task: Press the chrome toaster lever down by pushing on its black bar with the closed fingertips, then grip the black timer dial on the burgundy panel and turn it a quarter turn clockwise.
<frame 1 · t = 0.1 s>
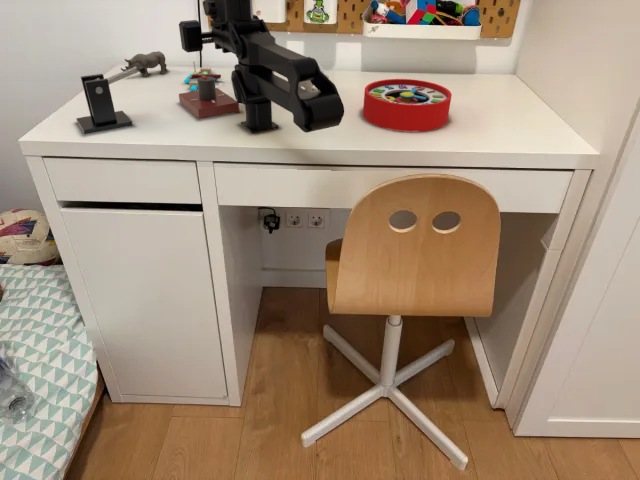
hand: (207, 26, 117), 17 cm above the table, tool horizontal, fingers open, 9 cm apart
toaster lever: (116, 78, 105), point 10 cm above the table, hinge at 15.0°
lever bracket: (105, 125, 109), on the table
soda can: (259, 83, 137), on the table
timer dial: (206, 87, 116), point 5 cm above the table, hinge at 0.0°
rhino figurine: (146, 75, 141), on the table
dog figurine: (307, 95, 129), on the table
dial panel: (209, 108, 119), on the table
toy clock: (404, 116, 117), on the table
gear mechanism: (204, 82, 137), on the table
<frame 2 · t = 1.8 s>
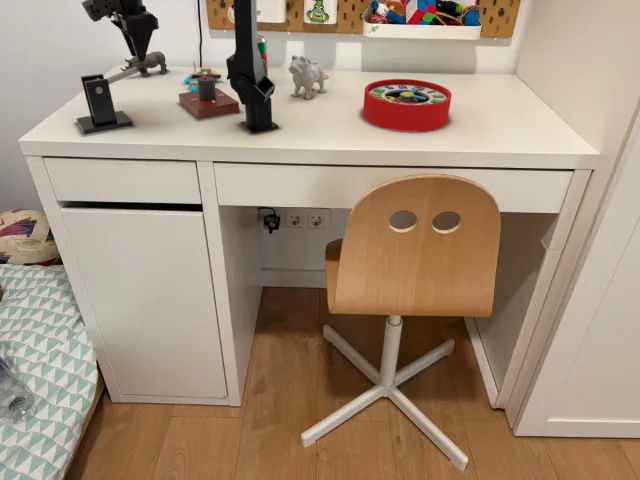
hand: (138, 58, 106), 13 cm above the table, tool pointing down, fingers open, 5 cm apart
nothing on the table moved.
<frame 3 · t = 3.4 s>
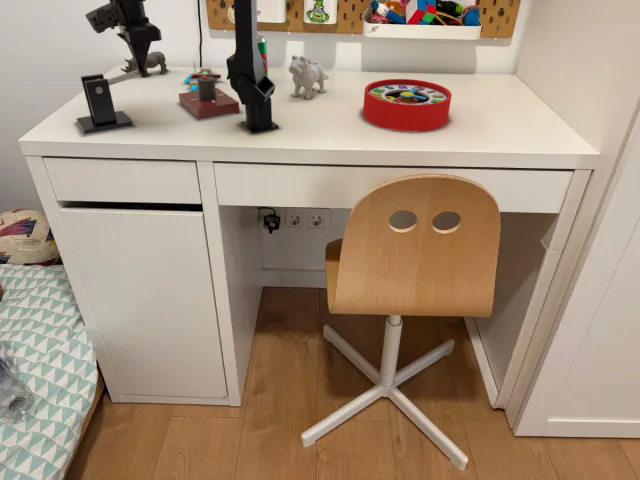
hand: (140, 69, 107), 11 cm above the table, tool pointing down, fingers closed, pressing on toaster lever
toaster lever: (117, 79, 105), point 9 cm above the table, hinge at 10.1°, touching gripper
everything else where it was.
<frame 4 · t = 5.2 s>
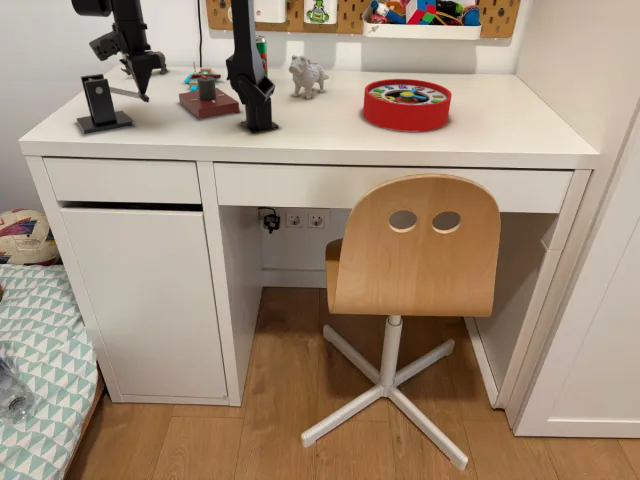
hand: (142, 93, 110), 6 cm above the table, tool pointing down, fingers closed, pressing on toaster lever
toaster lever: (118, 91, 107), point 7 cm above the table, hinge at -21.3°, touching gripper
everything else where it was.
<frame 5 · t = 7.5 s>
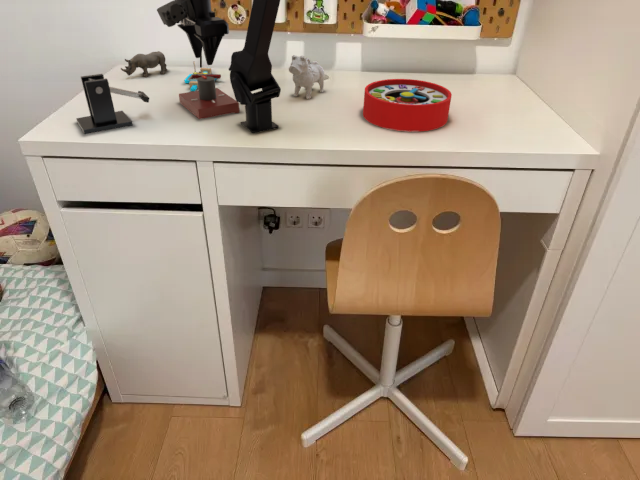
hand: (203, 61, 113), 11 cm above the table, tool pointing down, fingers open, 7 cm apart
toaster lever: (118, 91, 107), point 7 cm above the table, hinge at -21.3°
everything else where it was.
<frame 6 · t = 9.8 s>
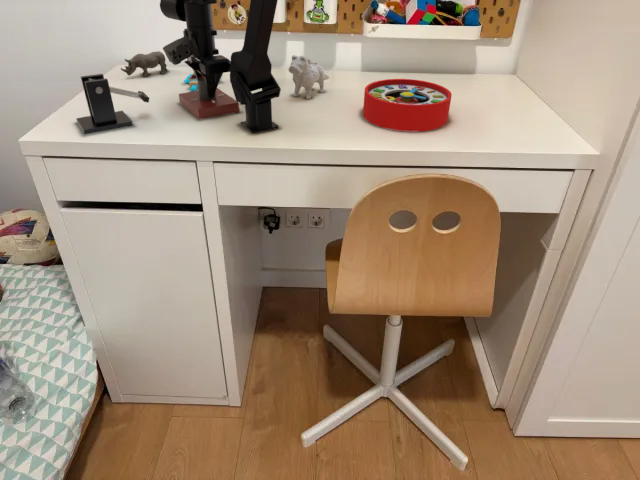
hand: (207, 94, 117), 3 cm above the table, tool pointing down, fingers closed on timer dial, 4 cm apart
timer dial: (206, 87, 116), point 5 cm above the table, hinge at 0.0°, touching gripper
everything else where it was.
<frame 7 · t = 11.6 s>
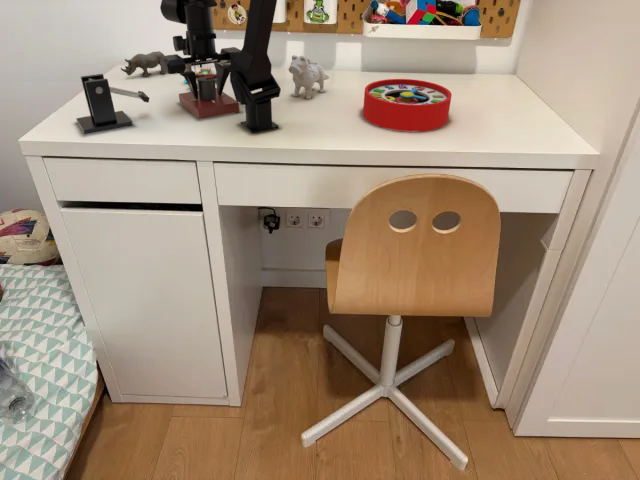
hand: (208, 97, 117), 3 cm above the table, tool pointing down, fingers open, 5 cm apart
timer dial: (206, 87, 116), point 5 cm above the table, hinge at -89.8°
everything else where it was.
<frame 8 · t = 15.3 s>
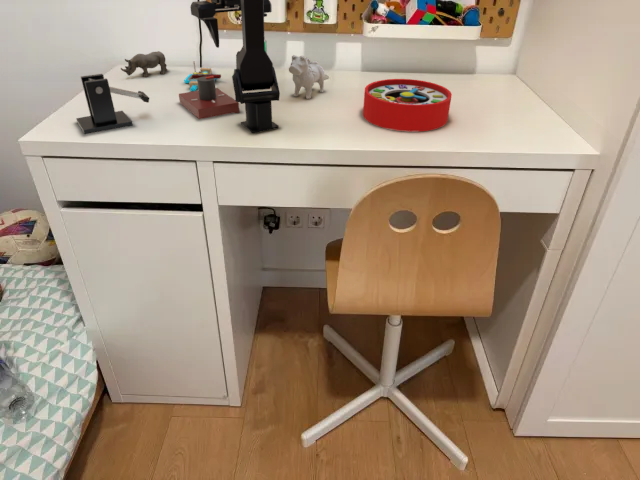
hand: (234, 45, 122), 12 cm above the table, tool pointing down, fingers open, 9 cm apart
nothing on the table moved.
at the end: toaster lever at -21° (first picture: +15°); timer dial at -90° (first picture: +0°) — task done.
